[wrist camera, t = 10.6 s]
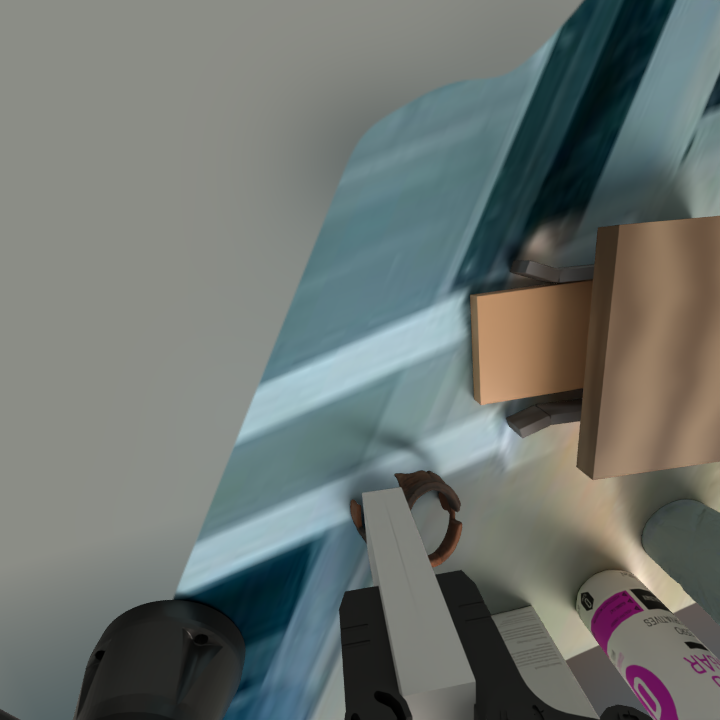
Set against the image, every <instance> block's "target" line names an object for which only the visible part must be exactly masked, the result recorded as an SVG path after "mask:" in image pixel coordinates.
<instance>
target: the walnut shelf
mask: <svg viewBox="0 0 720 720" xmlns="http://www.w3.org/2000/svg"><path fill="white" fill-rule="evenodd" d="M510 272H512V273H515V274H519V275H522V276H526V277H529V278H532V279H536V280H539V281H549V282H569V281H579V280H589V279H593V287H592V298H591V309H590V320H589V332H588V343H587V354H586V365H585V376H584V388H583V399H576V400H568V401H560V402H552V403H544V404H536V405H535V406H534V405H533V406H531V407H529V408H527V409H524V410H522V411H520V412H518V413H516V414H514V415H512V416H510V417H507V418H506V419H507V422H508V425H509V427H510V428H512V429H513V430H514V431H515V432H516V433H517V434H518V435H520V436H521V437H522V438H524V437H526V436H529V435H531V434H533V433H535V432H537V431H539V430H541V429H543V428H546V427H548V426H550V425H554V424H561V423H569V422H577V421H580V432H579V443H578V455H577V466H576V467H577V468H579V469H580V470H581V471H582V472H584V473H585V474H586V475H587V476H589V477H590V478H591V479H592V480H596V479H603V478H610V477H616V476H623V475H630V474H637V473H644V472H651V471H657V470H664V469H671V468H678V467H685V466H692V465H698V464H705V463H712V462H719V461H720V216H713V217H702V218H691V219H680V220H669V221H658V222H647V223H636V224H624V225H615V226H607V227H598V231H597V242H596V253H595V264H592V265H581V266H571V267H561V268H553V267H550V266H546V265H543V264H540V263H537V262H533V261H514V262H513V265H512V268H511V270H510Z"/></svg>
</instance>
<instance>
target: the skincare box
mask: <svg viewBox="0 0 720 720" xmlns="http://www.w3.org/2000/svg"><path fill="white" fill-rule="evenodd" d="M491 617H492V619H493V620H494V622H495V624H496V626H497V628H498V630H499V632H500V634H501V636H502V638H503V640H504V642H505V644H506V646H507V648H508V650H509V652H510V654H511V656H512V658H513V660H514V662H515V664H516V666H517V668H518V670H519V672H520V674H521V676H522V678H523V679H524V681H525V683H526V684H527V686H528V687H529V688H530V689H531V691H532V692H533V693H534V694H535V695H536V696H537V697H538V698H540V699H541V700H542V701H543V702H545V703H546V704H548V705H549V706H551V707H553V708H555V709H557V710H560V711H563V712H566V713H570V714H575V715H580V716H585V717H590V718H595V719H599V717H598V716H597V714H596V712H595V711H594V709H593V707H592V705H591V704H590V702H589V700H588V699H587V697H586V695H585V693H584V692H583V690H582V688H581V687H580V685H579V683H578V682H577V680H576V678H575V677H574V675H573V673H572V672H571V670H570V668H569V667H568V665H567V663H566V662H565V660H564V658H563V657H562V655H561V653H560V652H559V650H558V648H557V646H556V645H555V643H554V641H553V640H552V638H551V636H550V635H549V633H548V631H547V630H546V628H545V626H544V625H543V623H542V621H541V620H540V618H539V616H538V615H537V613H536V611H535V610H534V608H533V607H532V606H528V607H524V608H520V609H516V610H512V611H508V612H504V613H500V614H496V615H492V616H491Z"/></svg>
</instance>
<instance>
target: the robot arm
mask: <svg viewBox="0 0 720 720" xmlns="http://www.w3.org/2000/svg"><path fill="white" fill-rule="evenodd" d="M362 498H363V508H364V518H365V528H366V538H367V549H368V556H369V561H370V567H371V573H372V578H373V584H374V587H369V588H363V589H357V590H352V591H346V592H345V593H344V596H343V599H342V602H341V605H340V608H339V614H340V629H341V644H342V659H343V674H344V689H345V704H346V713H345V720H653V719H652V718H651V717H649V716H648V715H646V714H644V713H643V712H641V711H639V710H637V709H635V708H633V707H628V706H623V705H615V706H611V707H608V708H606V710H605V711H604V712H603V714H602V715H601V717H600V719H595V718H590V717H585V716H580V715H575V714H570V713H566V712H563V711H560V710H557V709H555V708H553V707H551V706H549V705H548V704H546V703H545V702H543V701H542V700H541V699H540V698H538V697H537V696H536V695H535V694H534V693H533V692H532V691H531V689H530V688H529V687H528V686H527V684H526V683H525V681H524V679H523V678H522V676H521V674H520V672H519V670H518V668H517V666H516V664H515V662H514V660H513V658H512V656H511V654H510V652H509V650H508V648H507V646H506V644H505V642H504V640H503V638H502V636H501V634H500V632H499V630H498V628H497V626H496V624H495V622H494V620H493V619H492V617H491V614H490V612H489V610H488V608H487V606H486V605H485V604H484V600H483V598H482V596H481V594H480V592H479V590H478V588H477V586H476V584H475V583H474V582H473V581H472V580H471V579H470V578H469V577H468V576H467V575H466V574H465V573H464V572H463V571H462V570H460V571H454V572H448V573H442V574H437V575H435V574H434V571H433V569H432V566H431V563H430V561H429V558H428V556H427V553H426V550H425V548H424V545H423V542H422V540H421V537H420V535H419V532H418V529H417V527H416V524H415V522H414V519H413V516H412V514H411V511H410V509H409V506H408V503H407V501H406V498H405V496H404V493H403V490H402V488H401V487H398V488H391V489H385V490H378V491H371V492H365V493H362ZM244 660H245V644H244V640H243V637H242V635H241V633H240V631H239V630H238V628H237V627H236V626H235V625H234V623H233V622H232V621H231V620H229V619H228V618H227V617H226V616H225V615H223V614H222V613H220V612H218V611H217V610H215V609H213V608H210V607H208V606H205V605H202V604H199V603H195V602H190V601H182V600H163V601H156V602H150V603H146V604H143V605H140V606H137V607H135V608H132V609H130V610H128V611H126V612H125V613H123V614H122V615H120V616H119V617H117V618H116V619H115V620H114V621H113V622H112V623H111V624H110V625H109V626H108V627H107V629H106V630H105V631H104V633H103V635H102V637H101V638H100V640H99V642H98V643H97V645H96V647H95V649H94V650H93V652H92V654H91V656H90V659H89V661H88V664H87V667H86V671H85V675H84V679H83V683H82V687H81V691H80V694H79V698H78V702H77V706H76V711H75V714H74V718H73V720H223V718H224V716H225V713H226V711H227V709H228V707H229V705H230V703H231V701H232V699H233V697H234V695H235V693H236V691H237V689H238V686H239V683H240V680H241V676H242V670H243V665H244ZM0 720H20V719H18V718H16V717H14V716H12V715H10V714H9V713H7V712H5V711H3V710H1V709H0Z"/></svg>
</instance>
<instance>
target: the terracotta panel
mask: <svg viewBox="0 0 720 720" xmlns="http://www.w3.org/2000/svg"><path fill="white" fill-rule="evenodd" d="M592 287H593V279H589V280H579V281H569V282H559V283H551V284H544V285H537V286H530V287H523V288H516V289H509V290H502V291H495V292H488V293H481V294H473V295H470V306H471V332H472V357H473V383H474V399H475V400H476V401H477V402H478V403H479V404H480V405H484V404H490V403H496V402H502V401H508V400H514V399H521V398H527V397H533V396H539V395H545V394H551V393H557V392H563V391H569V390H575V389H582V388H584V376H585V365H586V354H587V343H588V332H589V320H590V309H591V298H592Z"/></svg>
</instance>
